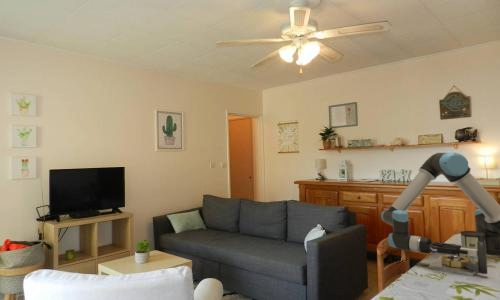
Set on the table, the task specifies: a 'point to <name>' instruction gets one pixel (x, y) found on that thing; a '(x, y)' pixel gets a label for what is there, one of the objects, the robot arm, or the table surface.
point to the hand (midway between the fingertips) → (477, 253)
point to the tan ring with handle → (466, 260)
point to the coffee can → (471, 241)
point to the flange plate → (440, 266)
